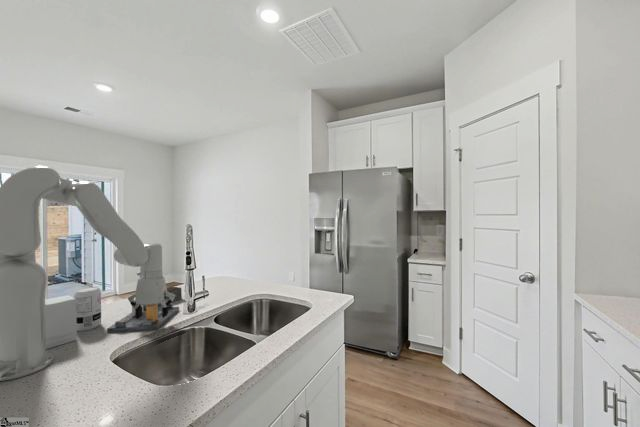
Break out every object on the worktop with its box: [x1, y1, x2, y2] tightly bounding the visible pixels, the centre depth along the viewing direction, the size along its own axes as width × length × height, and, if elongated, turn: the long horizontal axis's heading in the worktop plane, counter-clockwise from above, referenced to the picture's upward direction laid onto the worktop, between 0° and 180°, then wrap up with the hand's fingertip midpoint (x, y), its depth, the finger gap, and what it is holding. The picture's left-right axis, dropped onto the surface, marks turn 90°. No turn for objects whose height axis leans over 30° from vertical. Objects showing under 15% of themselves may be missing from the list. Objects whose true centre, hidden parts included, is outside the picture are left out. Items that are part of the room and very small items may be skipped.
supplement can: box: [73, 286, 102, 332], centre depth 108 cm, size 8×8×15 cm
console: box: [106, 302, 180, 333], centre depth 115 cm, size 21×18×4 cm
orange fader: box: [146, 304, 159, 322], centre depth 109 cm, size 4×2×7 cm, turn 7°
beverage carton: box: [158, 286, 183, 308], centre depth 136 cm, size 8×19×7 cm, turn 154°
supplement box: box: [45, 294, 78, 350], centre depth 96 cm, size 9×9×15 cm
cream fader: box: [131, 298, 143, 316], centre depth 117 cm, size 4×2×7 cm, turn 7°
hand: (152, 316), depth 109 cm, fingers open, 9 cm apart
